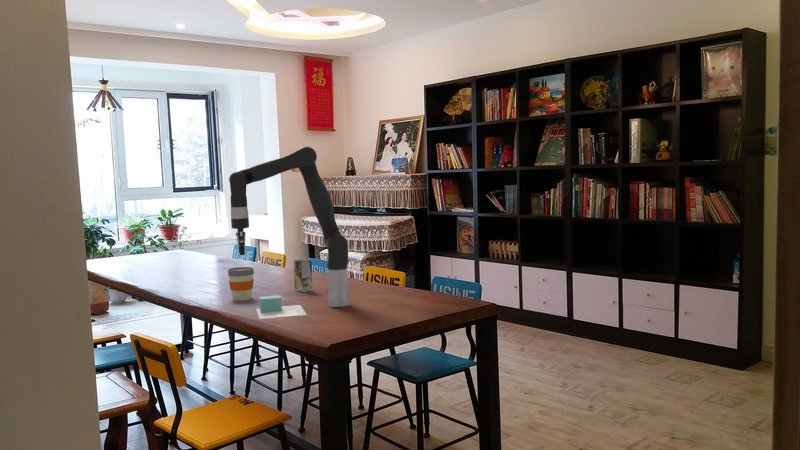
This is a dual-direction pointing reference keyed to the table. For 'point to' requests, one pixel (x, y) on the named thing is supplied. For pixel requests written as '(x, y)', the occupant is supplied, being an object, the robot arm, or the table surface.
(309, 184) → the robot arm
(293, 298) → the table surface
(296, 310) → the mat
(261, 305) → the card box
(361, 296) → the table surface
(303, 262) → the coffee box
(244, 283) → the reusable coffee cup
